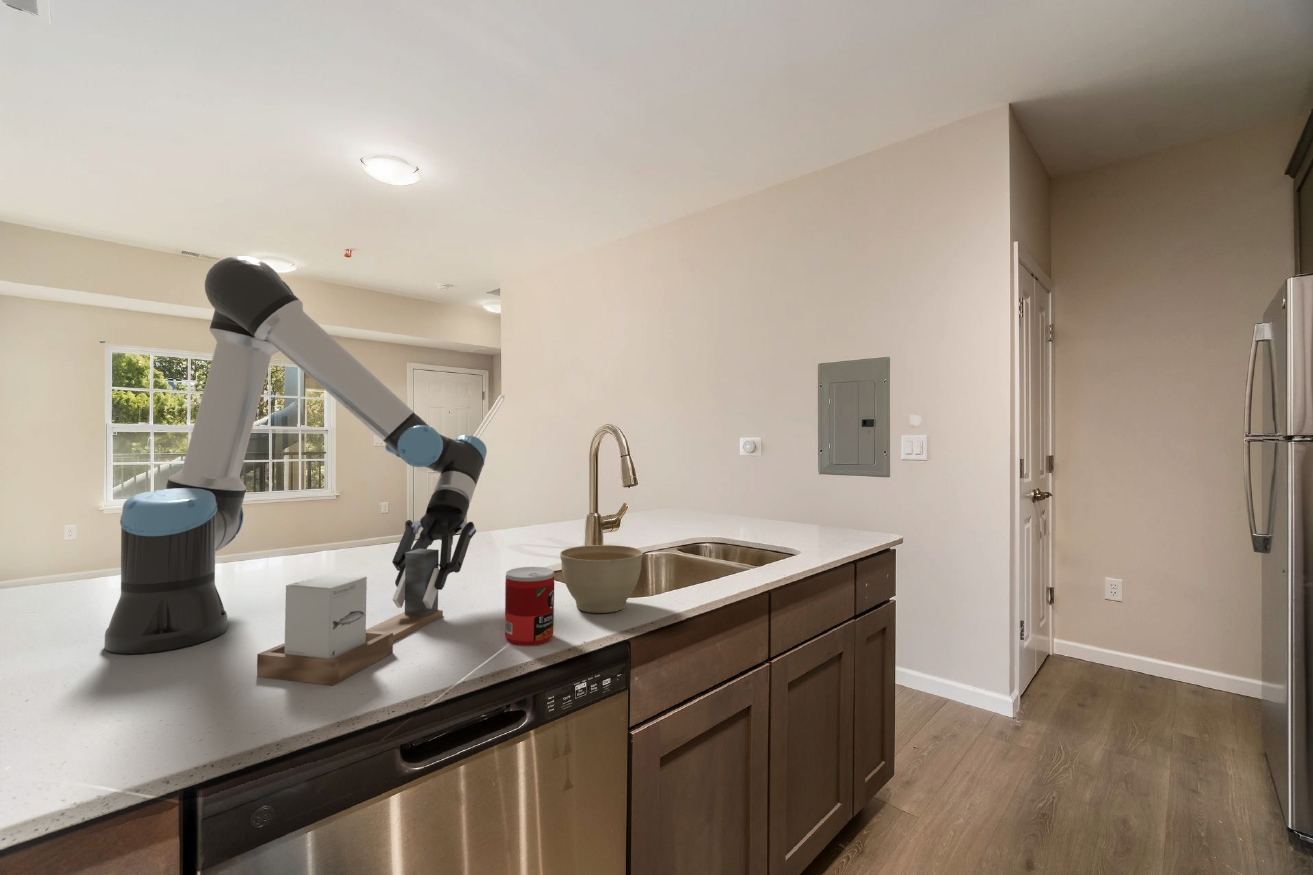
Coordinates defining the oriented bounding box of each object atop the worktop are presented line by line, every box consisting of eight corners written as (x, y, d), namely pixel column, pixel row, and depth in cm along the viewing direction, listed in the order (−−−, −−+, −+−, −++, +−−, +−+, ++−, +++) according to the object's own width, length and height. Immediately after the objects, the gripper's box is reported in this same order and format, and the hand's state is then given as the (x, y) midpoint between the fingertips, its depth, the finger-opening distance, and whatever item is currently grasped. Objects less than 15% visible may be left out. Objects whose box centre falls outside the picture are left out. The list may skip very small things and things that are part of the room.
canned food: (542, 648, 91) (543, 578, 91) (495, 644, 93) (496, 575, 93) (560, 632, 99) (561, 568, 99) (516, 629, 100) (517, 565, 100)
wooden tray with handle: (256, 676, 79) (258, 587, 79) (399, 611, 108) (400, 547, 108) (333, 685, 76) (334, 593, 76) (457, 616, 106) (458, 550, 106)
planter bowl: (655, 601, 118) (656, 548, 118) (618, 624, 103) (618, 563, 103) (586, 592, 125) (587, 541, 125) (542, 612, 110) (543, 554, 110)
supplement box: (328, 682, 78) (329, 588, 78) (282, 676, 79) (283, 584, 79) (367, 661, 85) (368, 575, 85) (324, 656, 86) (325, 572, 86)
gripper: (498, 511, 120) (467, 616, 104) (414, 509, 121) (370, 613, 104) (490, 488, 115) (456, 594, 98) (402, 486, 115) (354, 591, 99)
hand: (412, 603), depth 101 cm, fingers closed on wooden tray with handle, 5 cm apart
